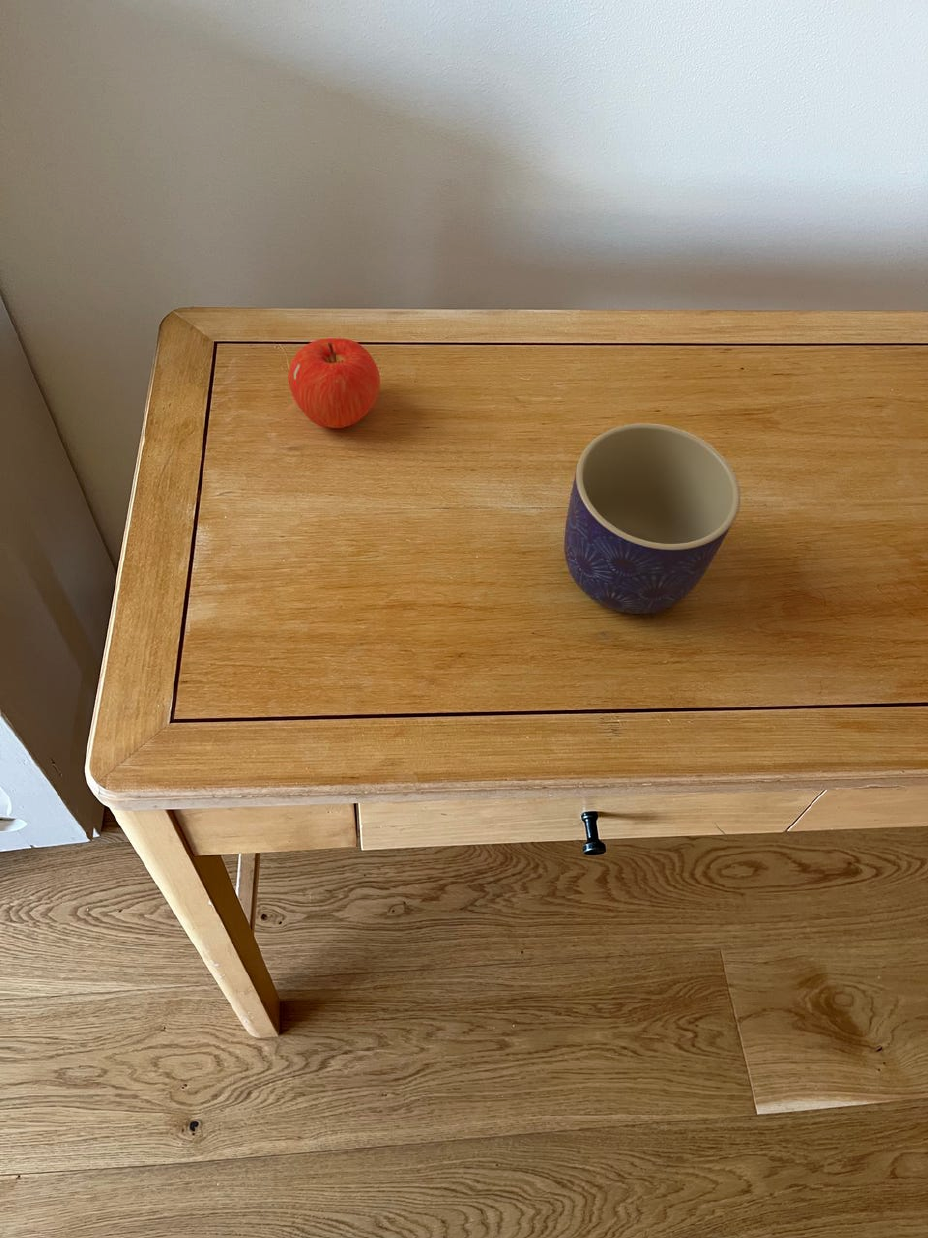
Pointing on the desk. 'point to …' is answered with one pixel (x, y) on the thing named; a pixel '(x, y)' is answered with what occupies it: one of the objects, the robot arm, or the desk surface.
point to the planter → (647, 516)
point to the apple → (334, 381)
